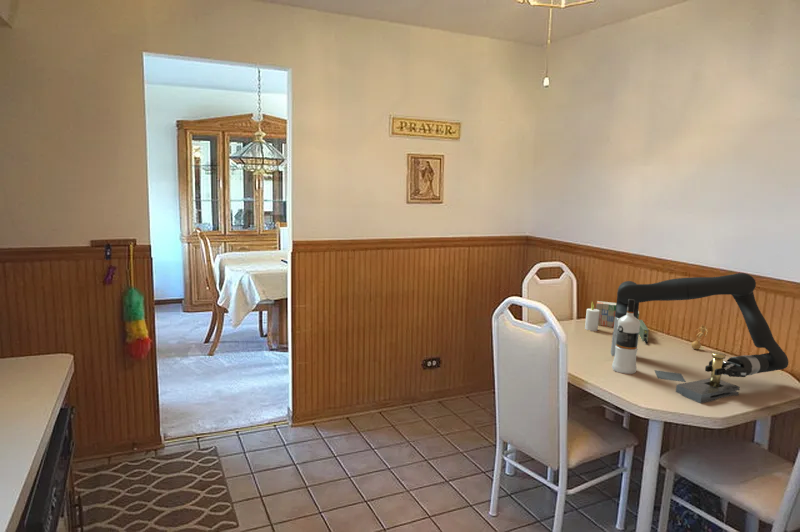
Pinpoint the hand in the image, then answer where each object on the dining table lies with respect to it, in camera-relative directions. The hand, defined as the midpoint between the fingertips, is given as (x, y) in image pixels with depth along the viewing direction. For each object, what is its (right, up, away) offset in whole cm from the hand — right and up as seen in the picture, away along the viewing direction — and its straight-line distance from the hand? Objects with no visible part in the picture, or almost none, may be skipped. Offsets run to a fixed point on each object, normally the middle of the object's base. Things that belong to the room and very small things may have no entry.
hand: (711, 370), depth 199 cm
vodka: (-23, -5, +23) cm, 32 cm away
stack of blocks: (+2, +6, +93) cm, 93 cm away
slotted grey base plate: (-1, -9, +1) cm, 9 cm away
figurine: (+26, -1, +56) cm, 62 cm away
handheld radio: (+7, +2, +73) cm, 73 cm away
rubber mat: (-6, -6, +18) cm, 20 cm away
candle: (-14, +5, +84) cm, 86 cm away
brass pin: (+2, -8, +2) cm, 8 cm away
